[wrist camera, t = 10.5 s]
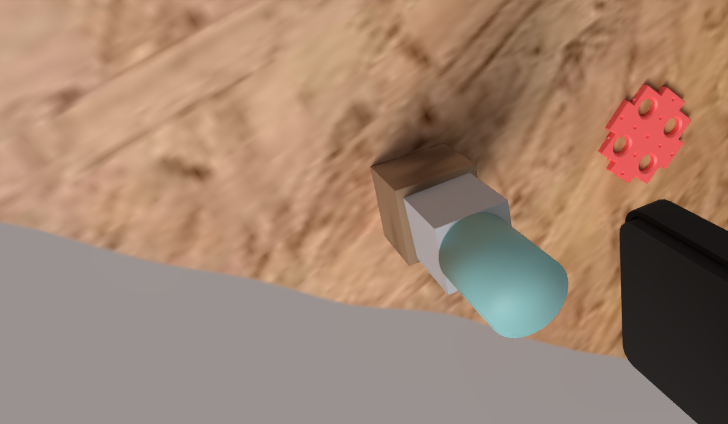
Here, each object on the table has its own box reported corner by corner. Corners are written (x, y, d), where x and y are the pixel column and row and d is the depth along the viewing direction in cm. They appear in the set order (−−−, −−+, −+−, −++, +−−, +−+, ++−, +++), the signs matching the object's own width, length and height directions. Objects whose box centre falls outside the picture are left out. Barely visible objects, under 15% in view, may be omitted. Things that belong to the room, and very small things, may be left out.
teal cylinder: (507, 201, 37) (566, 244, 32) (513, 268, 39) (569, 318, 34) (433, 227, 36) (482, 276, 31) (444, 294, 38) (491, 350, 33)
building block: (702, 116, 52) (648, 71, 48) (647, 195, 54) (590, 157, 50) (695, 113, 53) (641, 69, 49) (641, 191, 54) (584, 154, 51)
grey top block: (469, 172, 41) (507, 199, 37) (480, 233, 44) (517, 265, 39) (403, 197, 41) (434, 229, 36) (417, 258, 43) (448, 294, 39)
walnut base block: (444, 142, 46) (475, 164, 41) (453, 211, 48) (484, 238, 44) (370, 166, 44) (394, 191, 40) (384, 235, 47) (409, 265, 43)
